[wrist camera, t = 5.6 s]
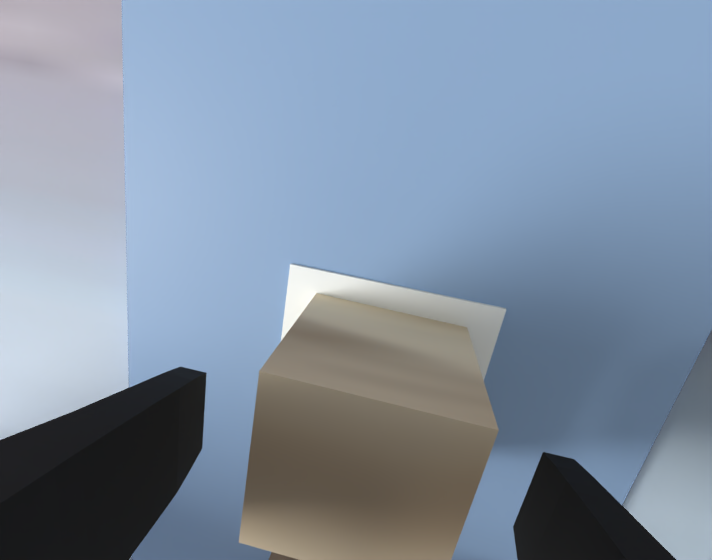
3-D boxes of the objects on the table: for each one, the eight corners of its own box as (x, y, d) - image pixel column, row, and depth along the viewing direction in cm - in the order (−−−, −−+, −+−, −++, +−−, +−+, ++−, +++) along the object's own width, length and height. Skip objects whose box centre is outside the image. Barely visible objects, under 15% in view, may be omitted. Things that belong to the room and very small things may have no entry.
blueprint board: (521, 671, 14) (527, 695, 14) (142, 562, 16) (130, 580, 15) (874, -47, 7) (919, -67, 7) (138, -137, 9) (114, -162, 8)
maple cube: (429, 450, 11) (436, 598, 7) (296, 417, 12) (238, 542, 8) (467, 327, 10) (499, 430, 6) (316, 293, 10) (259, 370, 7)
